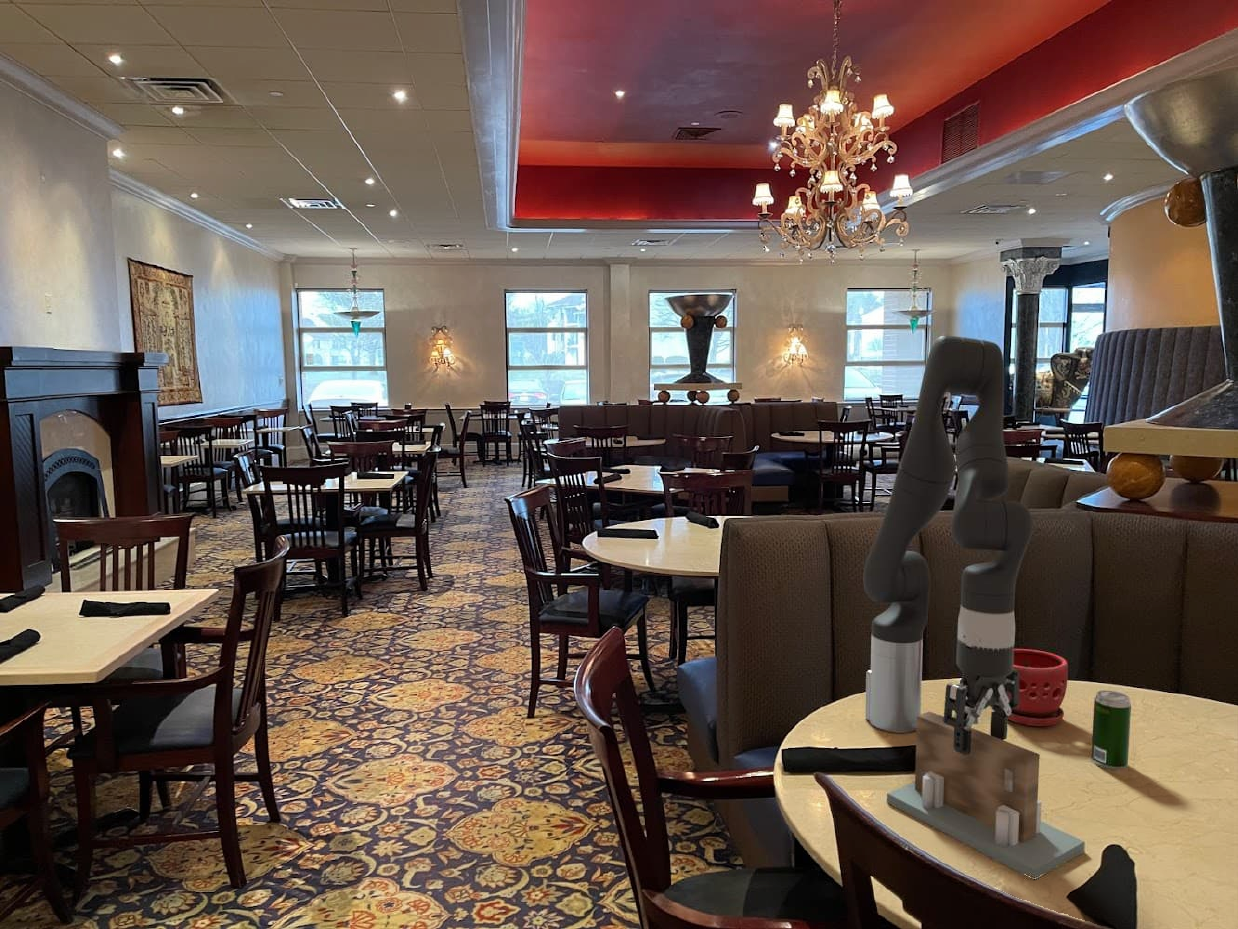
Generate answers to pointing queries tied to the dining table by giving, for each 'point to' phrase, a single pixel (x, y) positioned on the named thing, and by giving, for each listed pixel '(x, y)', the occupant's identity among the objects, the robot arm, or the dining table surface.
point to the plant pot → (1039, 687)
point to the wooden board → (979, 773)
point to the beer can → (1111, 730)
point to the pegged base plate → (989, 829)
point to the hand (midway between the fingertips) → (980, 745)
